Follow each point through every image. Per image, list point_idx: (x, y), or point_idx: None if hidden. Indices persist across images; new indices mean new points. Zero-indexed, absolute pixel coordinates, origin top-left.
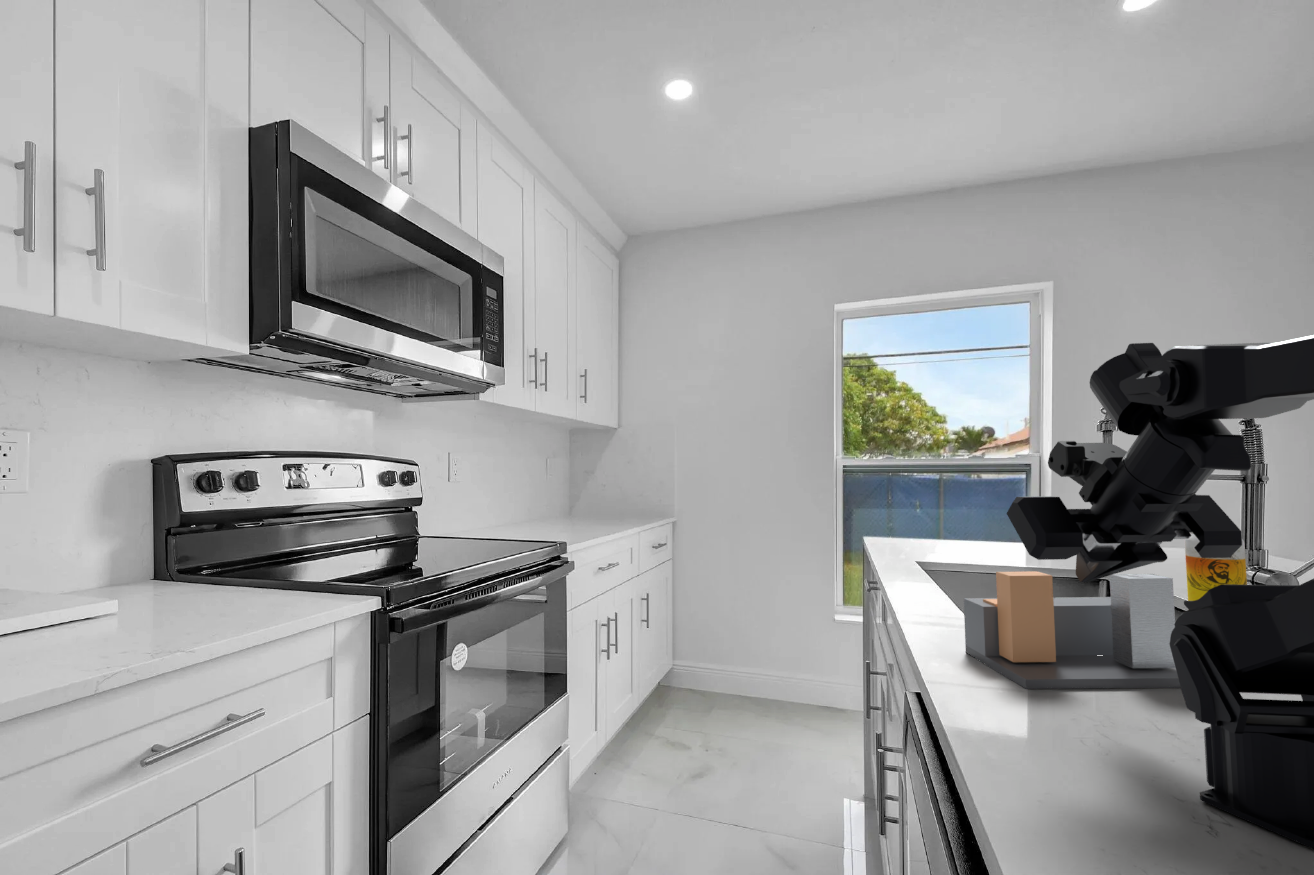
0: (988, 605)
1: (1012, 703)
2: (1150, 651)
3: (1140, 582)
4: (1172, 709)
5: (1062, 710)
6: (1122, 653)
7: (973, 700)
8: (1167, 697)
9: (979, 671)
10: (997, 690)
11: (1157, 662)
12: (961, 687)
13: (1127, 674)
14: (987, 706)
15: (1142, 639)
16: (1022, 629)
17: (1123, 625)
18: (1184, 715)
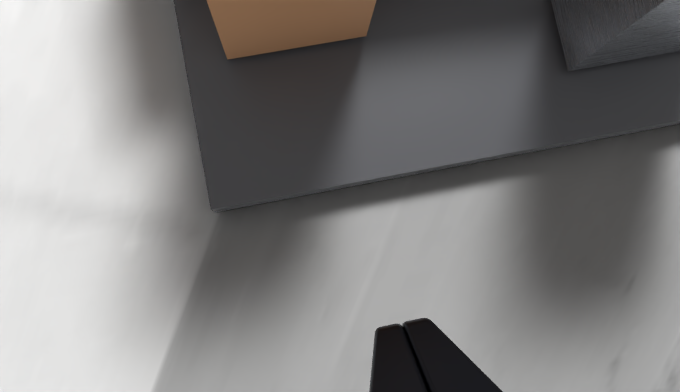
0: None
1: (129, 347)
2: (649, 43)
3: None
4: (540, 315)
5: (248, 379)
6: (572, 18)
7: (22, 342)
8: (574, 218)
9: (133, 62)
10: (125, 238)
11: (648, 53)
12: (24, 228)
13: (533, 110)
14: (46, 386)
15: (649, 31)
16: (254, 7)
17: None
18: (548, 357)
